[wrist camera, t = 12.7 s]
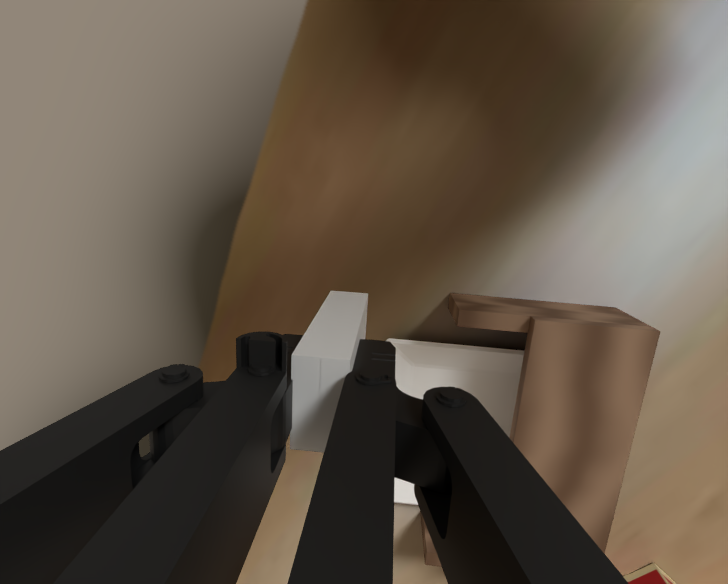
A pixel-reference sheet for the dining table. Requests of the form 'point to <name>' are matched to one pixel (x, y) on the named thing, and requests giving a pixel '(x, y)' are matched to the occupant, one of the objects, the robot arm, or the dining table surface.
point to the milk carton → (649, 576)
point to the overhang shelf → (571, 397)
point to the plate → (458, 381)
